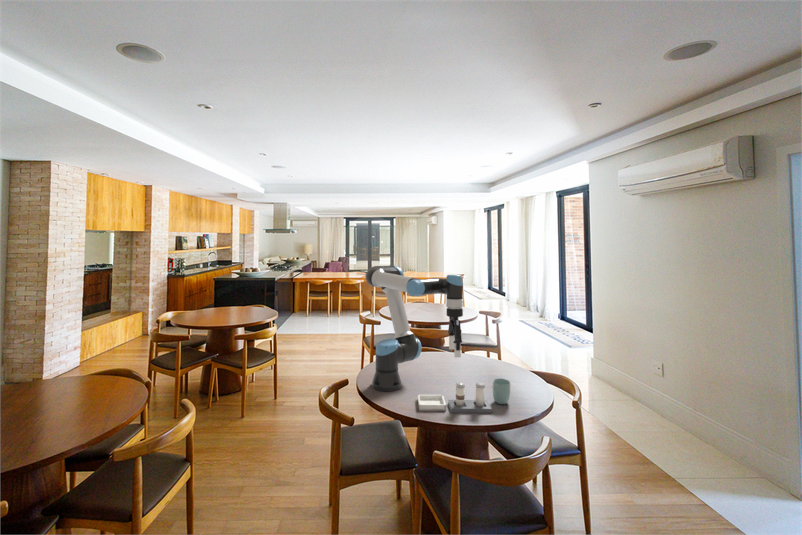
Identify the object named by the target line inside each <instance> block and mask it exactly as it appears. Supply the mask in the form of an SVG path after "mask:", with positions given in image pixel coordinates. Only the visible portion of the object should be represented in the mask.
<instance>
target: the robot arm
mask: <svg viewBox="0 0 802 535" xmlns="http://www.w3.org/2000/svg"><path fill="white" fill-rule="evenodd" d="M463 278H464V277H463V276H462V275H461V274H447V275H446V278H444V277H441V278H440V277H430V278H418V277H417V278H416V277H412V276H411V277H410V276H406V275H404V272H403V270H402V268H400V267H399V266H398V265H391V264H390V265H374V266H372V267H371V266H370V267H369V269H367V271H366V273H365V281H366V283H367V284H368V285H369V286H370V287H374V288H381V290H382V292H383V293H385V296H386V301H387V304H388V305H387V306H388V310H389V314H390V319H391V322H392V327H393V332H394V337H393V338H386V339H382V340H380V341H378V342H377V343H376V345H375V372H374V374H373V377H372V381H371V387H372V388H373V389H374V390H376V391H381V392H394V391H397V390H400V389H401V387H402V379H401V376H400V373H399V364H402V363H407V362H411V361H414V360H415V359H418V358H419V357H420V355H421V353H422V343H421V341H420V339H419V338H418V337H415V333H414V332H412V331H411V328H410V324H409V320H408V316H407V313H406V312H407V311H406V308H405V303H404V299H403V296H402V293H403V292H404V293H408V294H409V295H410V296H412V297H420V296H421V297H422V296H427V295H440V294H441V295H446V304H445V305H446V316H447V317H449V321H448V329H447V330H448V332H447V333H448V350H454V354H453V355H454V358H462V356H461V355H462V351H461V350H462V342H463V341H462V340H463V338H462V328H461V320H459V318H461V317H463V316H464V314H463V312H464V308H463V307H464V306H463V305H464V304H463V303H465V301H464V300H463V298H464V297H463V295H464V293H463V292H464V289H463V288H464V280H463Z"/></svg>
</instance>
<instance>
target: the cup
mask: <svg viewBox="0 0 802 535" xmlns="http://www.w3.org/2000/svg"><path fill="white" fill-rule="evenodd" d="M510 396H511V381H510V380H508V379H505V378H495V379H493V381H492V398H493V401H494V402H495V403H497V404H499V405H506V404H507V403H509V401H510Z"/></svg>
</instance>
